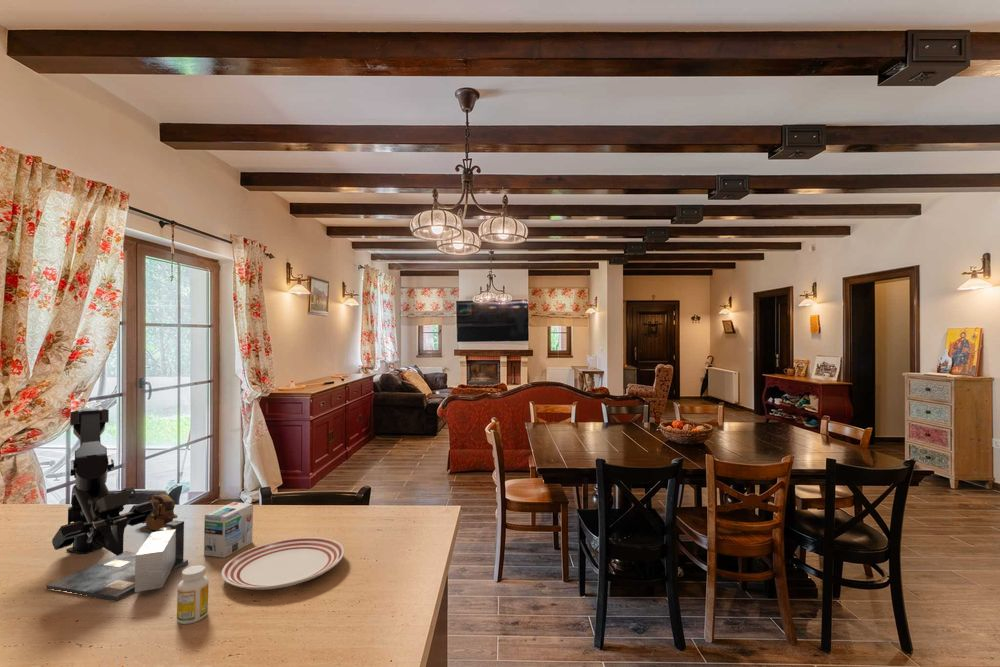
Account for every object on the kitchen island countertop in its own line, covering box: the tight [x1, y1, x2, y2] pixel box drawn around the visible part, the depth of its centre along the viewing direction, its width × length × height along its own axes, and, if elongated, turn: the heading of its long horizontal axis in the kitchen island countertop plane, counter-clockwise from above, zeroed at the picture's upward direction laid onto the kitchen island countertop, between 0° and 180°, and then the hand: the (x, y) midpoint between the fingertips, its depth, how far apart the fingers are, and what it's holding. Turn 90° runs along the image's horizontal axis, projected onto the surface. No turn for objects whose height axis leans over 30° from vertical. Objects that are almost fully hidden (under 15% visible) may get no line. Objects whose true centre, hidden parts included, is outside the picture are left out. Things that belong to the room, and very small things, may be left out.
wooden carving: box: [142, 493, 178, 531], centre depth 143 cm, size 16×5×10 cm, turn 67°
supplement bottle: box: [176, 564, 209, 625], centre depth 98 cm, size 5×5×10 cm
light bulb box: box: [203, 501, 254, 559], centre depth 130 cm, size 11×7×11 cm, turn 168°
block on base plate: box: [45, 519, 189, 602], centre depth 115 cm, size 20×19×10 cm
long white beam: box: [134, 527, 176, 593], centre depth 113 cm, size 5×16×8 cm, turn 24°
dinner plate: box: [220, 536, 345, 591], centre depth 118 cm, size 27×27×3 cm
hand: (120, 554), depth 112 cm, fingers closed
